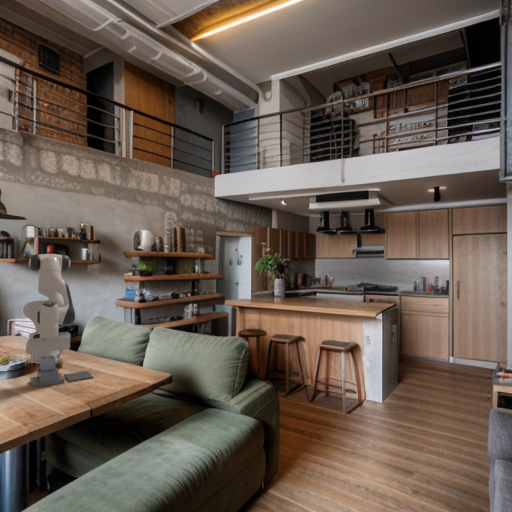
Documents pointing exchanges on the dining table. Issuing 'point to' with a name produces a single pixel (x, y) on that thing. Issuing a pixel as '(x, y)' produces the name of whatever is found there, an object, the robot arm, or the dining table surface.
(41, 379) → the vise
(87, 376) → the mat
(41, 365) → the blue-grey cube
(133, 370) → the dining table surface
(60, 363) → the gavel
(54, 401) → the dining table surface
